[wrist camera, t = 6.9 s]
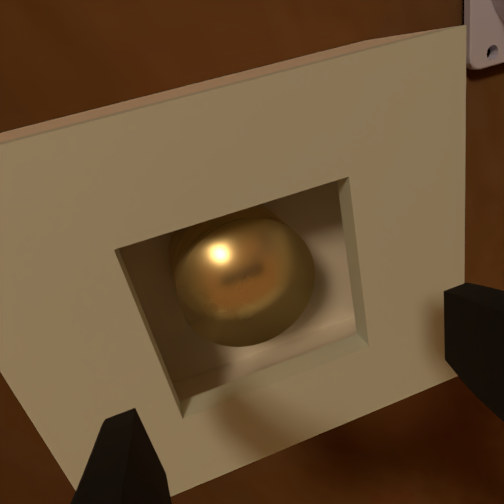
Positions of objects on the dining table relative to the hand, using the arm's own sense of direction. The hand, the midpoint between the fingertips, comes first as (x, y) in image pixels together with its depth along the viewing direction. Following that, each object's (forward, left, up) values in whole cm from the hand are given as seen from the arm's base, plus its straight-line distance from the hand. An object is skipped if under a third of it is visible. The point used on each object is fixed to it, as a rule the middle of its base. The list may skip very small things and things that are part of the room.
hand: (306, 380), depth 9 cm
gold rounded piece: (0, 0, -8) cm, 8 cm away
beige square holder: (0, 0, -8) cm, 8 cm away
